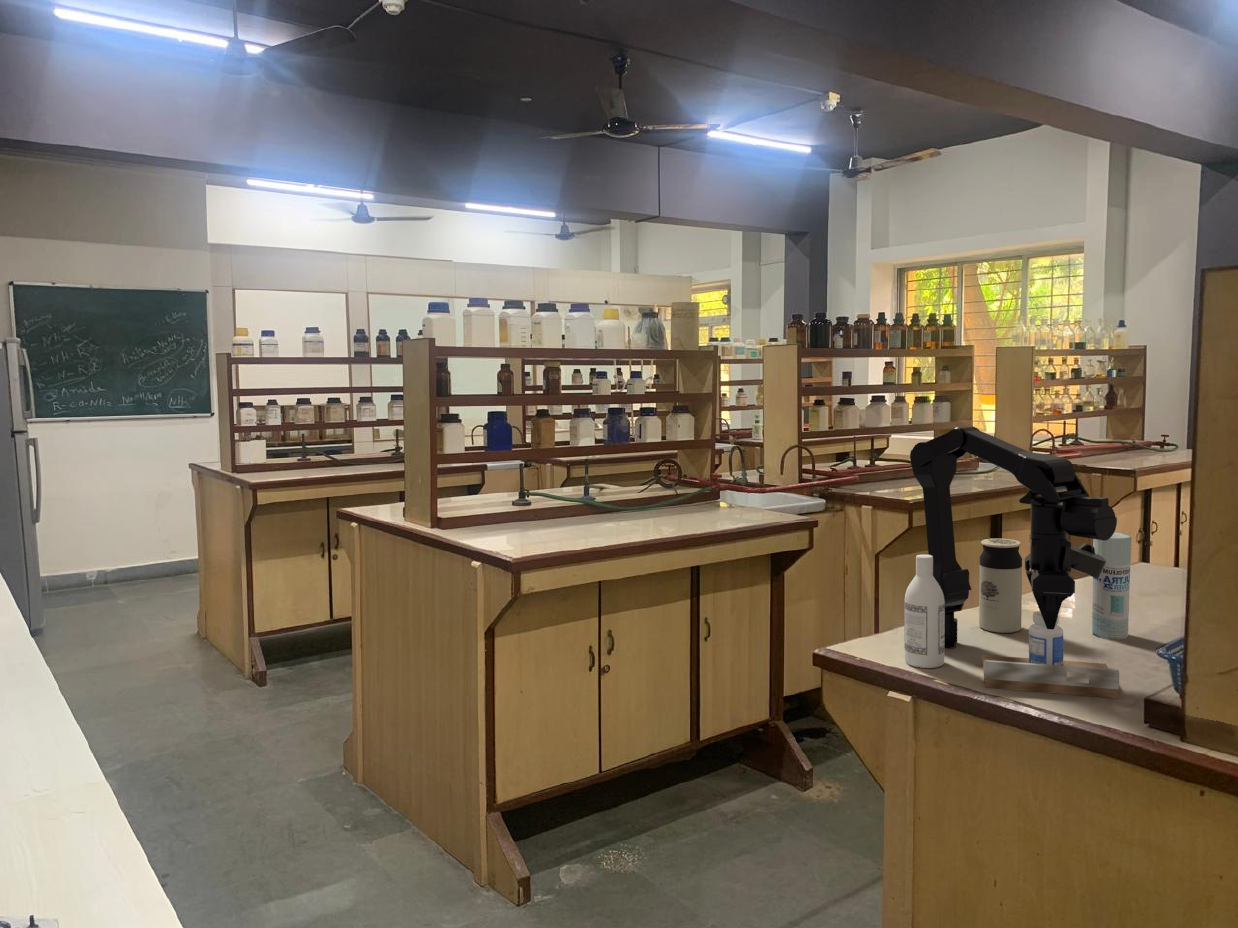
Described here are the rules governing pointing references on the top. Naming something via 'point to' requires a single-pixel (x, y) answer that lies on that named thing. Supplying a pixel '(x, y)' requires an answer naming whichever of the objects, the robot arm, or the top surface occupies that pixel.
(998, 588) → the travel mug
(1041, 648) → the pill bottle
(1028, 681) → the shelf board
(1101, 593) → the spray paint can
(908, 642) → the bath foam
